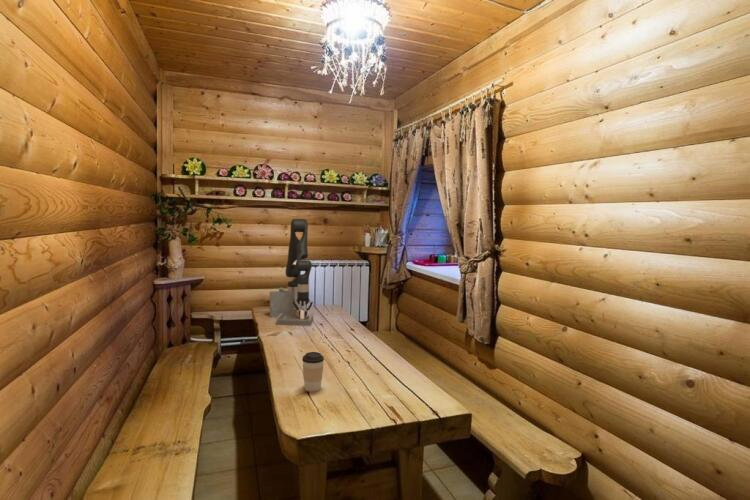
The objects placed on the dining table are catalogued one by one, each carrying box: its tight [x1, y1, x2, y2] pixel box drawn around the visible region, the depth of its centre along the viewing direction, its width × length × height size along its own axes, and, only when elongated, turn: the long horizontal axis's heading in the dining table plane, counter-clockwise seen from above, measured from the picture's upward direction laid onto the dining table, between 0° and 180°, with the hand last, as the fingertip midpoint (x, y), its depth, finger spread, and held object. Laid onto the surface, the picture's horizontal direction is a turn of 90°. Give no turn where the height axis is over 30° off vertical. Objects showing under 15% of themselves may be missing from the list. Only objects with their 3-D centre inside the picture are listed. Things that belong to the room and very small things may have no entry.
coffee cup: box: [301, 351, 325, 393], centre depth 174 cm, size 9×9×15 cm
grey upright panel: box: [269, 287, 294, 318], centre depth 290 cm, size 16×4×20 cm, turn 109°
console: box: [276, 313, 314, 327], centre depth 275 cm, size 12×22×4 cm, turn 90°
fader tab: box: [300, 309, 305, 319], centre depth 274 cm, size 5×2×5 cm, turn 0°
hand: (302, 316), depth 274 cm, fingers closed on fader tab, 2 cm apart
